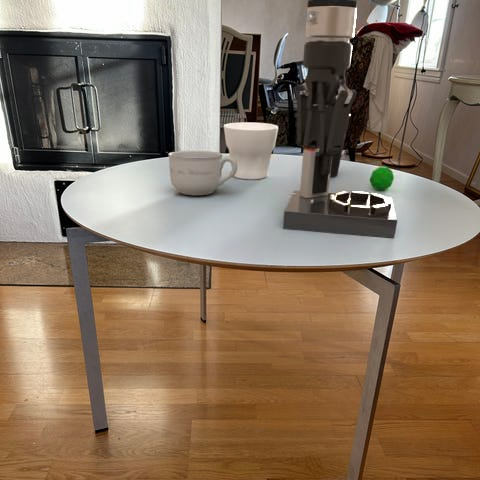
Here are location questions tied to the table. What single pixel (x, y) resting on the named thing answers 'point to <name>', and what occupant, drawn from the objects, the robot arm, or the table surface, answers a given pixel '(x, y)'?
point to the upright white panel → (310, 174)
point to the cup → (251, 147)
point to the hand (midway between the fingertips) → (314, 190)
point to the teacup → (198, 171)
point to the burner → (359, 204)
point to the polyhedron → (381, 178)
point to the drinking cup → (336, 160)
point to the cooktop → (335, 218)
